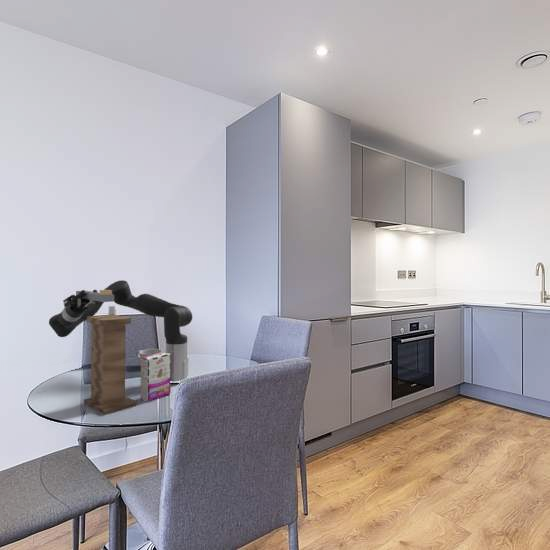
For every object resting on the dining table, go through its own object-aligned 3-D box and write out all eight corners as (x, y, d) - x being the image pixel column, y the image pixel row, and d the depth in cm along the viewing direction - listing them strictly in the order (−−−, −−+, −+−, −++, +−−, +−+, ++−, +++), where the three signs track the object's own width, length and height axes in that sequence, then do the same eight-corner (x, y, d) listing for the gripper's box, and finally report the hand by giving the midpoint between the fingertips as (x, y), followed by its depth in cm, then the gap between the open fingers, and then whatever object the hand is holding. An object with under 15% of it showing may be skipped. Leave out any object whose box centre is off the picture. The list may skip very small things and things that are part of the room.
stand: (83, 402, 142) (83, 316, 141) (114, 394, 151) (115, 314, 151) (104, 414, 131) (105, 321, 130) (136, 405, 140) (137, 318, 139)
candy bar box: (162, 391, 156) (162, 351, 155) (170, 394, 153) (171, 353, 153) (139, 399, 146) (139, 357, 146) (148, 402, 144) (148, 359, 143)
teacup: (166, 366, 195) (166, 350, 195) (148, 370, 186) (149, 354, 186) (147, 362, 203) (148, 347, 202) (130, 366, 194) (130, 350, 193)
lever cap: (76, 297, 155) (76, 287, 155) (86, 296, 158) (86, 286, 158) (103, 302, 139) (103, 290, 139) (114, 301, 142) (114, 290, 142)
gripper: (54, 302, 157) (69, 283, 147) (89, 300, 168) (105, 283, 158) (57, 319, 155) (73, 301, 145) (93, 316, 165) (110, 299, 155)
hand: (90, 291), depth 151 cm, fingers closed on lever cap, 4 cm apart
